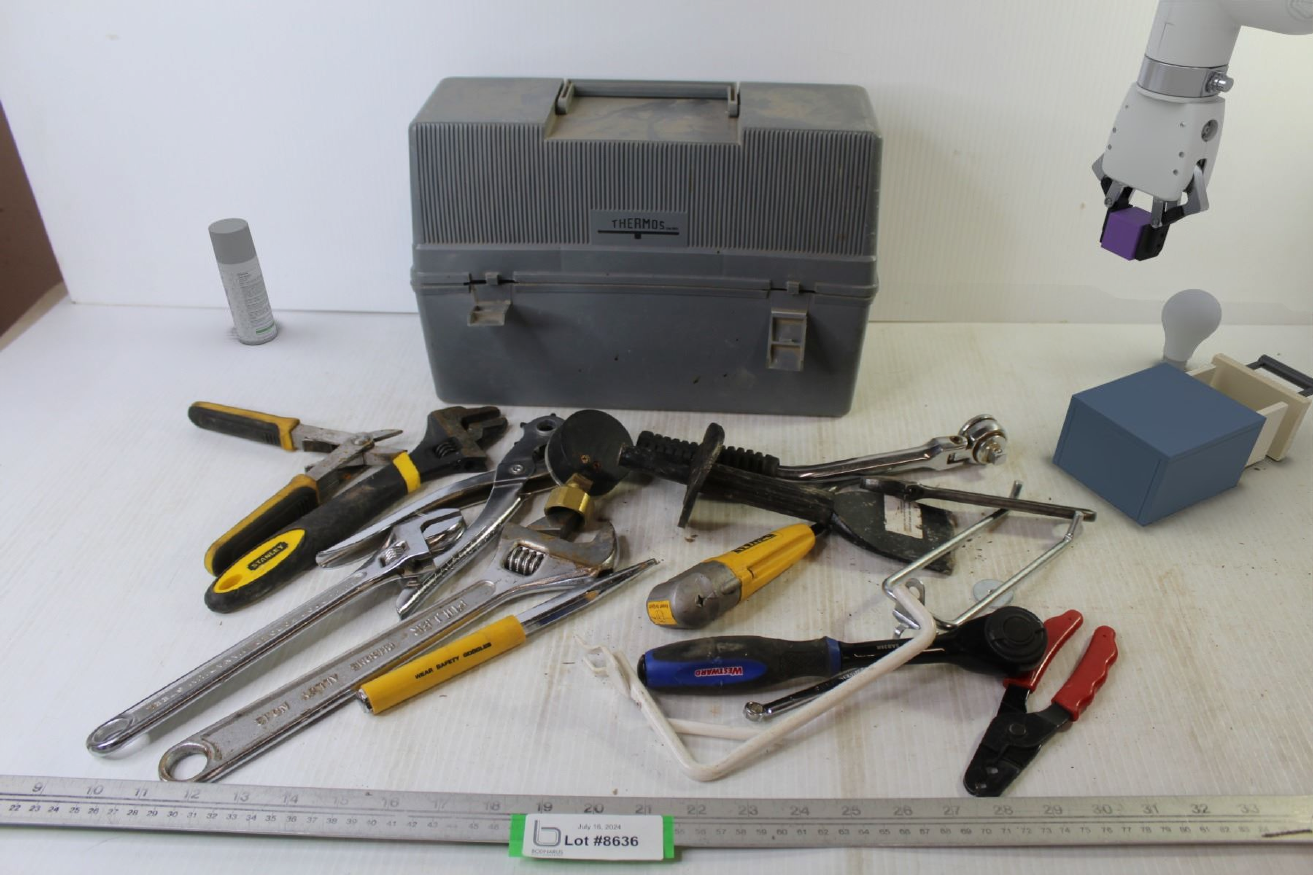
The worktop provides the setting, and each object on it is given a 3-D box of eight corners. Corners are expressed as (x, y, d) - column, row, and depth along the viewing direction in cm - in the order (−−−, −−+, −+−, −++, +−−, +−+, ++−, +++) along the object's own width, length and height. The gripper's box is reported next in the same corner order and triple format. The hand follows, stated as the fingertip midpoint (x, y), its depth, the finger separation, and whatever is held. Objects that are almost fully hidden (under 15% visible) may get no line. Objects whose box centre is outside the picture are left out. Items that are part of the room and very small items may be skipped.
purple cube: (1126, 240, 108) (1136, 206, 106) (1155, 253, 105) (1166, 219, 103) (1100, 247, 107) (1109, 212, 104) (1129, 261, 104) (1140, 226, 101)
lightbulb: (1204, 389, 114) (1237, 306, 107) (1149, 385, 114) (1178, 302, 108) (1189, 362, 119) (1220, 281, 112) (1136, 358, 119) (1164, 277, 113)
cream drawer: (1232, 395, 111) (1255, 340, 107) (1318, 443, 104) (1347, 386, 99) (1120, 438, 104) (1140, 381, 100) (1204, 493, 97) (1229, 434, 92)
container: (231, 336, 123) (199, 226, 115) (264, 323, 126) (235, 214, 118) (251, 349, 121) (220, 237, 112) (284, 334, 124) (256, 224, 115)
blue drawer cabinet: (1140, 432, 107) (1166, 361, 101) (1234, 491, 98) (1267, 417, 93) (1049, 467, 102) (1071, 394, 96) (1140, 532, 93) (1170, 457, 88)
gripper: (1284, 94, 90) (1218, 273, 101) (1138, 52, 102) (1093, 216, 113) (1229, 105, 88) (1168, 288, 98) (1086, 61, 100) (1045, 228, 110)
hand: (1128, 247), depth 106 cm, fingers closed on purple cube, 4 cm apart
